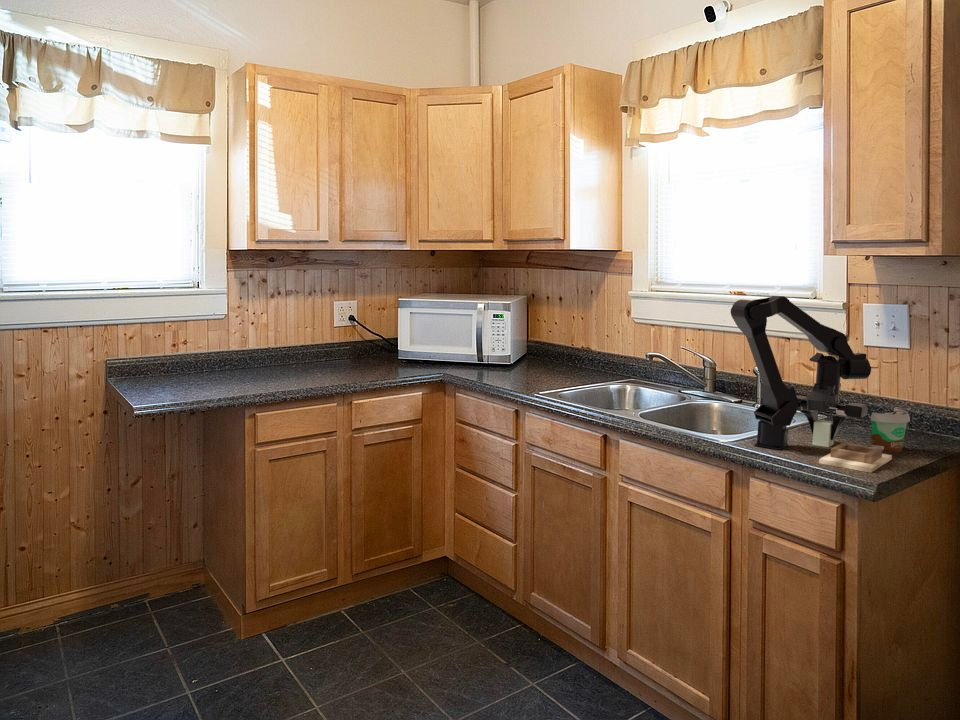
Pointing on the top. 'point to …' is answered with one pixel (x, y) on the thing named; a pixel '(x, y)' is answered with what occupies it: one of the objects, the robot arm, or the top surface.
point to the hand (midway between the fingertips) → (823, 438)
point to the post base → (856, 457)
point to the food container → (889, 430)
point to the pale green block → (822, 433)
